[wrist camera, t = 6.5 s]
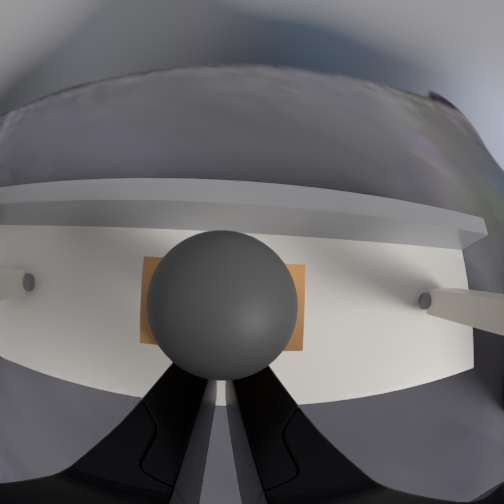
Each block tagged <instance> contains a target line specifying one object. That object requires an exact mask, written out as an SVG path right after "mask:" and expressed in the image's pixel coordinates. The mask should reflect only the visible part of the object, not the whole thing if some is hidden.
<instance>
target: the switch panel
mask: <svg viewBox="0 0 504 504" xmlns="http://www.w3.org/2000/svg"><path fill="white" fill-rule="evenodd" d="M214 230H228V231H236V232H240V233H244V234H247V235H249V236H252V237H254V238H256V239H258V240H260V241H261V242H263V243H264V244H266V245H267V246H268V247H270V248H271V249H272V250H273V251H274V252H275V253H276V254H277V255H278V256H279V257H280V258H281V259H282V261H283V262H284V263H285V264H300V265H305V308H304V334H303V351H282V353H281V354H280V355H279V356H278V357H277V358H276V359H275V360H274V361H273V362H272V363H271V364H270V365H269V366H270V368H271V369H272V370H273V372H274V373H275V375H276V376H277V377H278V379H279V380H280V381H281V383H282V384H283V385H284V387H285V388H286V390H287V391H288V392H289V394H290V395H291V396H292V398H293V399H294V400H295V401H296V403H297V404H311V403H321V402H331V401H339V400H346V399H353V398H359V397H365V396H371V395H377V394H382V393H387V392H392V391H396V390H401V389H405V388H409V387H413V386H417V385H421V384H425V383H428V382H432V381H435V380H439V379H442V378H445V377H448V376H451V375H454V374H457V373H460V372H463V371H466V370H469V369H472V368H474V349H473V327H470V326H467V325H463V324H460V323H456V322H453V321H449V320H446V319H442V318H439V317H435V316H432V315H428V314H427V311H428V309H424V310H423V309H421V308H420V306H419V297H420V295H421V294H422V293H428V292H430V289H441V288H462V289H468V282H467V276H466V270H465V264H464V259H463V254H462V249H464V248H466V247H468V246H469V245H471V244H473V243H474V242H476V241H478V240H479V239H481V238H483V237H484V236H486V235H488V233H487V229H486V226H485V222H484V219H483V218H480V217H476V216H472V215H468V214H464V213H460V212H455V211H451V210H446V209H442V208H437V207H432V206H428V205H423V204H418V203H412V202H407V201H402V200H396V199H390V198H385V197H378V196H372V195H366V194H359V193H352V192H345V191H338V190H330V189H322V188H313V187H304V186H295V185H285V184H274V183H261V182H248V181H232V180H213V179H185V178H115V179H88V180H70V181H56V182H44V183H33V184H24V185H15V186H7V187H0V266H6V267H12V268H19V269H25V273H29V274H32V275H33V276H34V279H35V285H34V288H33V290H32V291H26V290H25V291H26V296H21V297H16V298H12V299H7V300H2V301H0V356H1V357H3V358H5V359H8V360H10V361H12V362H15V363H17V364H20V365H22V366H25V367H27V368H30V369H33V370H36V371H38V372H41V373H44V374H47V375H50V376H53V377H57V378H60V379H63V380H66V381H70V382H73V383H77V384H81V385H85V386H88V387H92V388H97V389H101V390H105V391H110V392H115V393H120V394H125V395H130V396H136V397H142V398H143V397H144V396H145V395H146V393H147V392H148V391H149V390H150V389H151V387H152V386H153V385H154V384H155V383H156V382H157V380H158V379H159V378H160V377H161V376H162V374H163V373H164V372H165V371H166V370H167V369H168V367H169V366H170V365H171V364H172V363H173V362H172V361H171V360H170V359H169V358H168V357H167V356H166V355H165V354H164V352H163V351H162V350H161V349H160V347H159V345H153V344H144V343H140V304H141V286H142V272H143V260H144V256H148V257H164V256H165V255H166V254H167V253H168V252H169V251H170V250H171V249H172V248H173V247H174V246H176V245H177V244H178V243H180V242H182V241H183V240H185V239H187V238H189V237H191V236H194V235H196V234H199V233H203V232H207V231H214ZM215 405H222V406H226V399H225V381H218V380H217V397H216V404H215Z"/></svg>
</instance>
